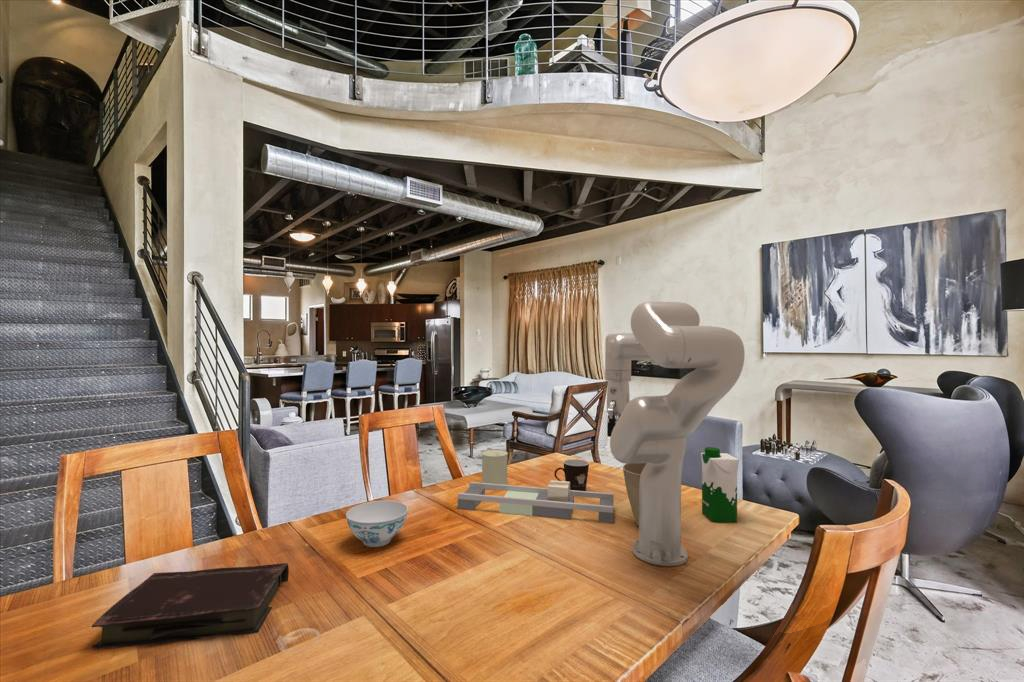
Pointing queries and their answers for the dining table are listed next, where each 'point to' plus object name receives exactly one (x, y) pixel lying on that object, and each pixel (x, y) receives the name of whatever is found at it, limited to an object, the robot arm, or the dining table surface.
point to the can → (494, 467)
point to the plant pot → (633, 485)
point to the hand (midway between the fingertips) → (617, 433)
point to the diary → (192, 606)
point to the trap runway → (535, 501)
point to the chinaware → (376, 521)
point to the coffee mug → (575, 473)
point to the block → (559, 491)
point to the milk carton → (719, 485)
